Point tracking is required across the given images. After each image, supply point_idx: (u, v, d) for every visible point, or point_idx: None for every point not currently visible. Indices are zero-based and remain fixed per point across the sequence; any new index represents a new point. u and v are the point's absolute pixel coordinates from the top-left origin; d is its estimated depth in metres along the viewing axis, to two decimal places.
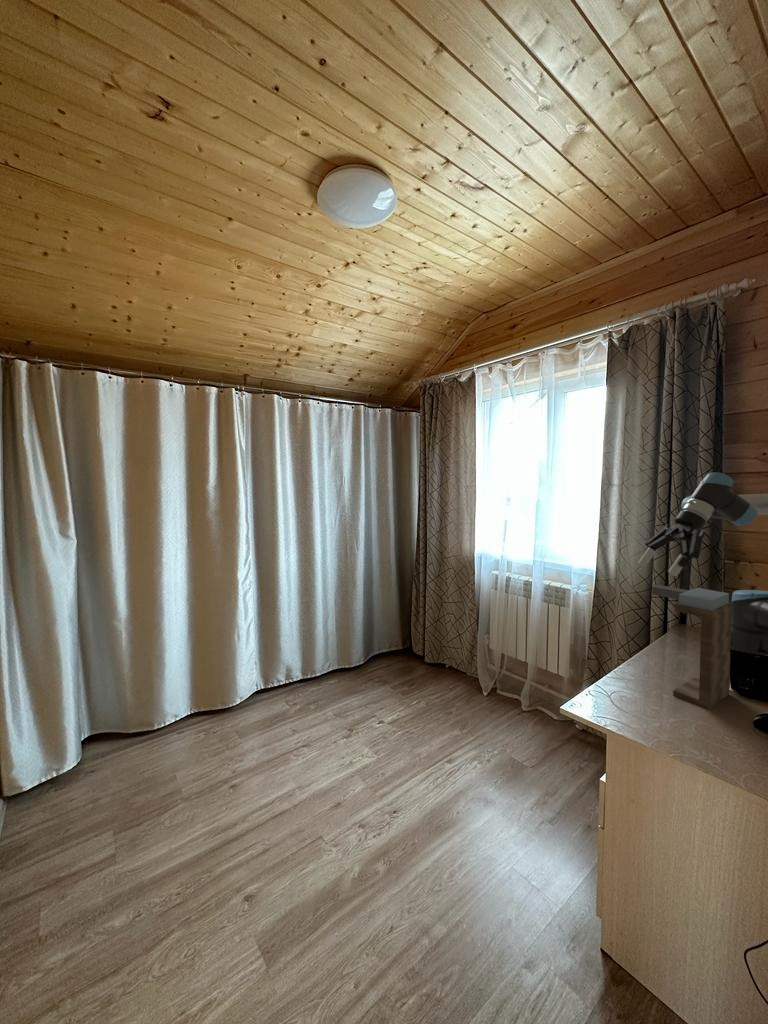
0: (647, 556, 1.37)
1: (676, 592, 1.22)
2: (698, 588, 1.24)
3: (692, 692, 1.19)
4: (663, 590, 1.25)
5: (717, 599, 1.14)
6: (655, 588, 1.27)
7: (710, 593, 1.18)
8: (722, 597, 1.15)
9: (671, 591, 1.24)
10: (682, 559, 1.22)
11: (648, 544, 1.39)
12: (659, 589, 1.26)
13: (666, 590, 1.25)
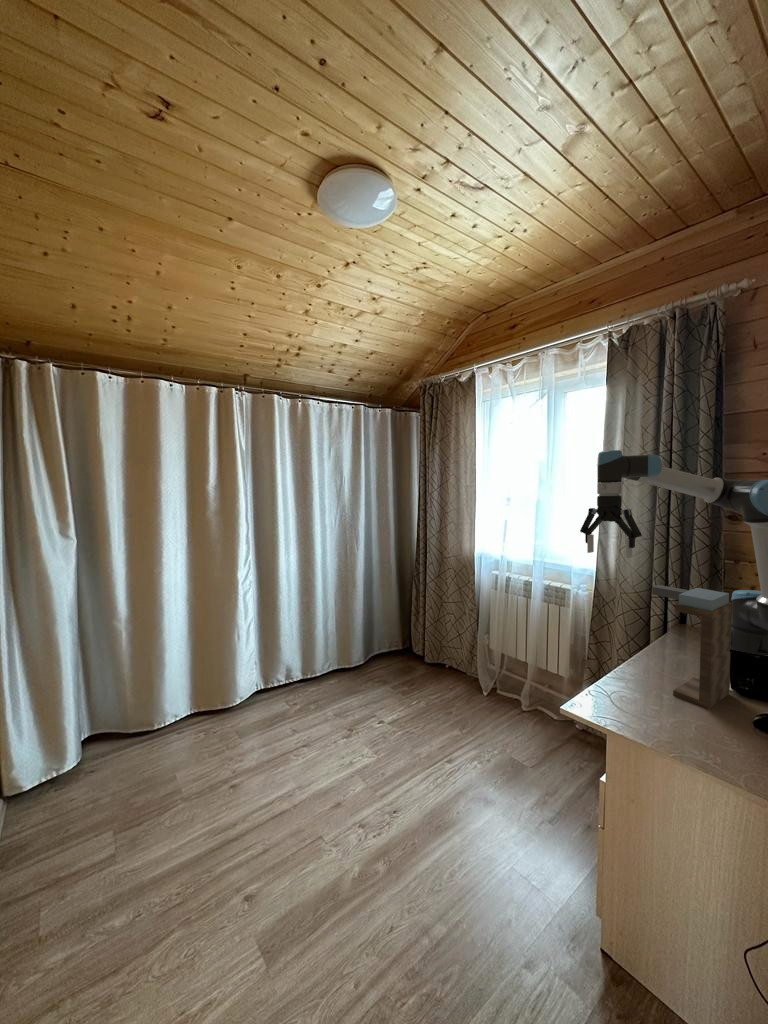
0: (591, 543, 1.47)
1: (676, 592, 1.22)
2: (698, 588, 1.24)
3: (692, 692, 1.19)
4: (663, 590, 1.25)
5: (717, 599, 1.14)
6: (655, 588, 1.27)
7: (710, 593, 1.18)
8: (722, 597, 1.15)
9: (671, 591, 1.24)
10: (630, 542, 1.34)
11: (583, 531, 1.48)
12: (659, 589, 1.26)
13: (666, 590, 1.25)
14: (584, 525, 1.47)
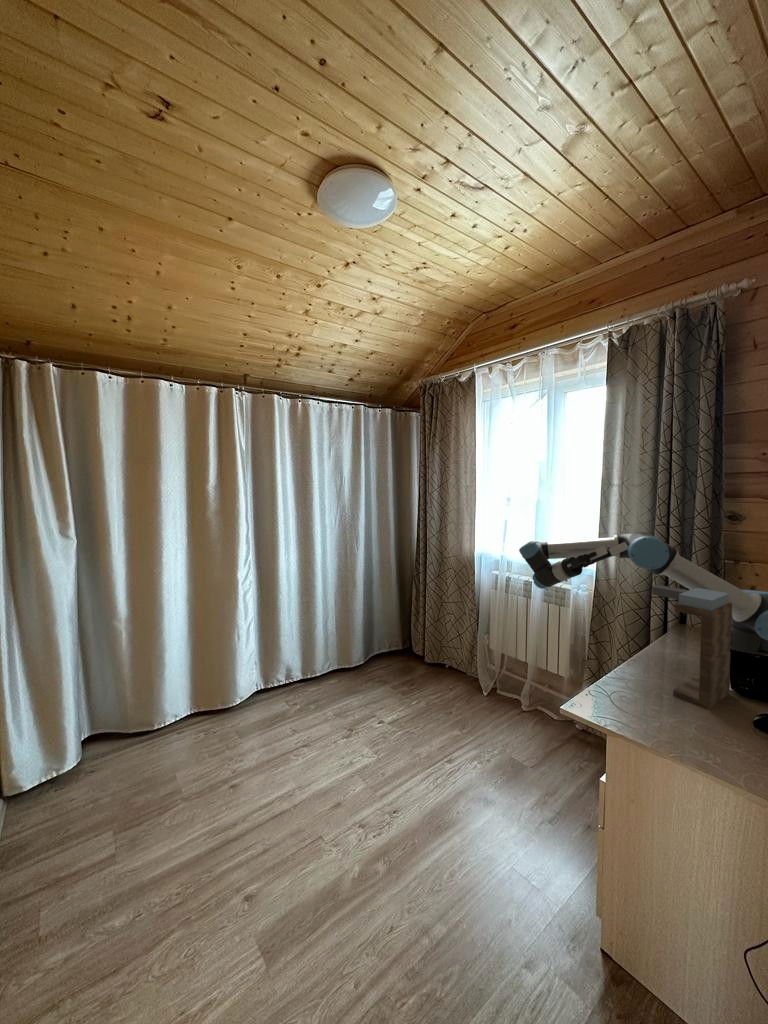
0: (617, 550, 1.45)
1: (676, 592, 1.22)
2: (698, 588, 1.24)
3: (692, 692, 1.19)
4: (663, 590, 1.25)
5: (717, 599, 1.14)
6: (655, 588, 1.27)
7: (710, 593, 1.18)
8: (722, 597, 1.15)
9: (671, 591, 1.24)
10: (591, 557, 1.39)
11: None
12: (659, 589, 1.26)
13: (666, 590, 1.25)
14: None
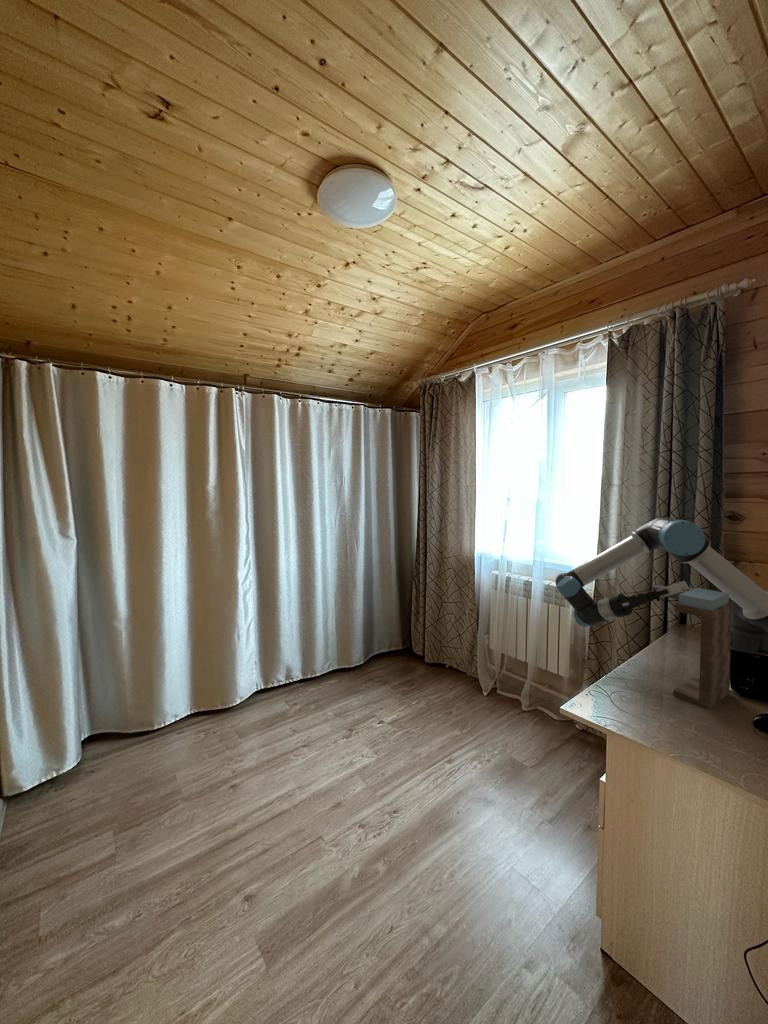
0: None
1: None
2: (698, 588, 1.24)
3: (692, 692, 1.19)
4: None
5: (717, 599, 1.14)
6: (655, 588, 1.27)
7: (710, 593, 1.18)
8: (722, 597, 1.15)
9: None
10: (662, 595, 1.25)
11: None
12: None
13: None
14: None
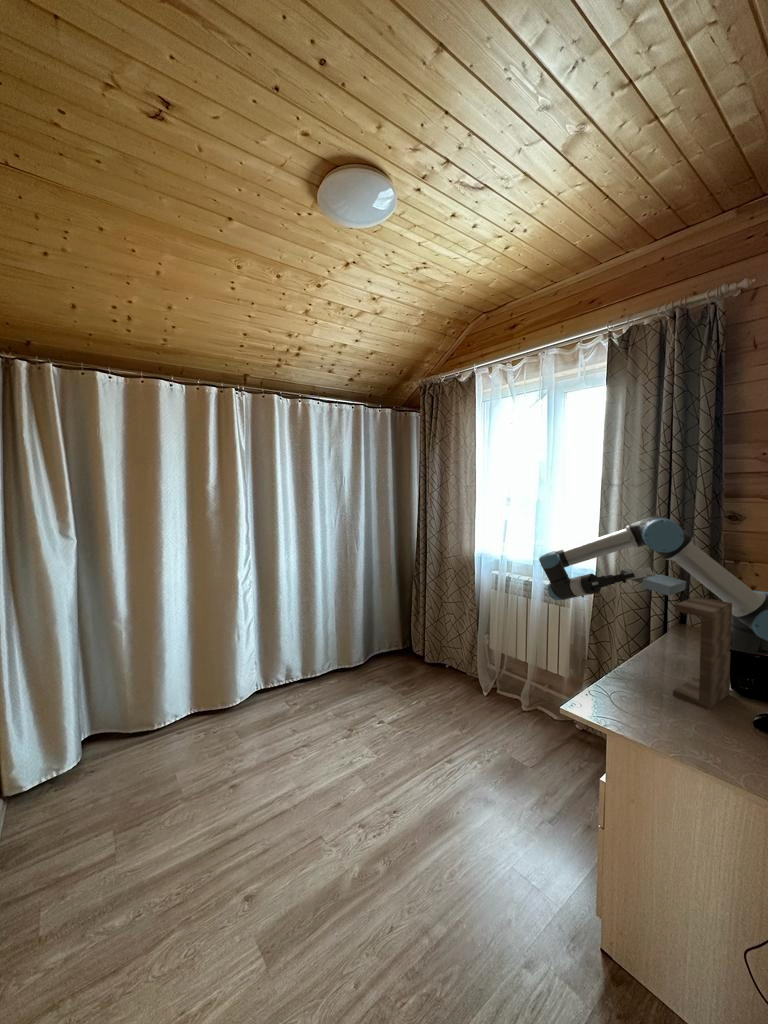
0: None
1: None
2: None
3: (692, 692, 1.19)
4: None
5: (675, 586, 1.27)
6: (623, 571, 1.41)
7: (670, 580, 1.32)
8: (680, 584, 1.29)
9: None
10: (628, 578, 1.38)
11: None
12: None
13: None
14: None
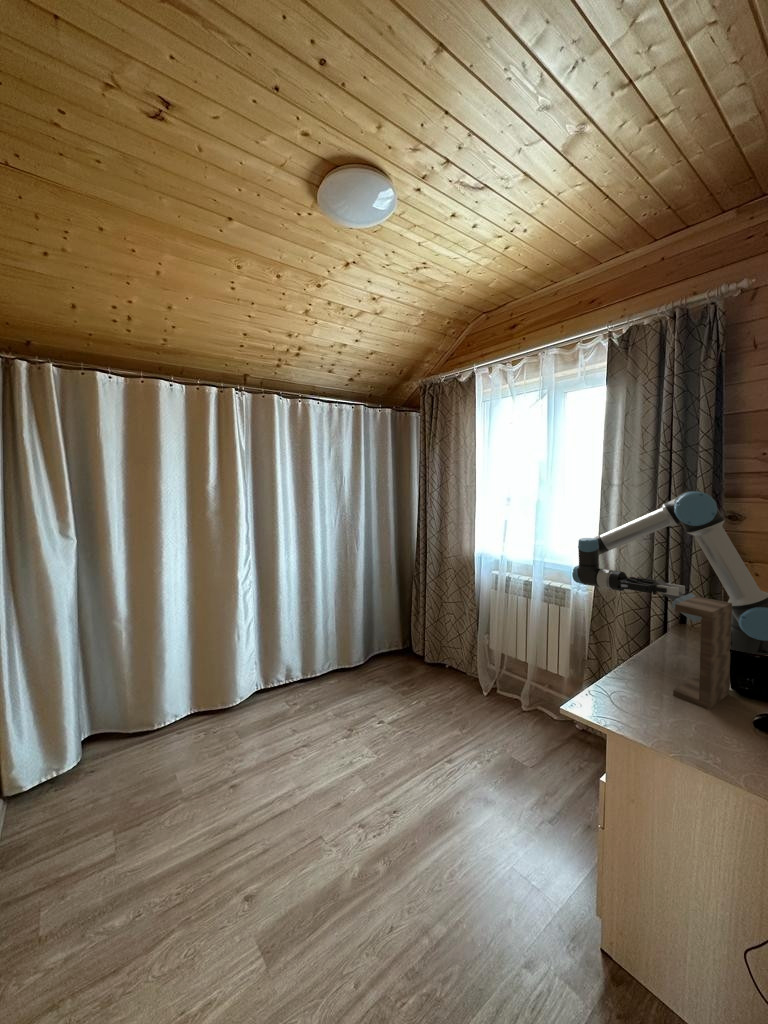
0: None
1: None
2: (692, 594, 1.40)
3: (692, 692, 1.19)
4: None
5: None
6: (656, 583, 1.43)
7: None
8: None
9: None
10: None
11: None
12: None
13: None
14: None
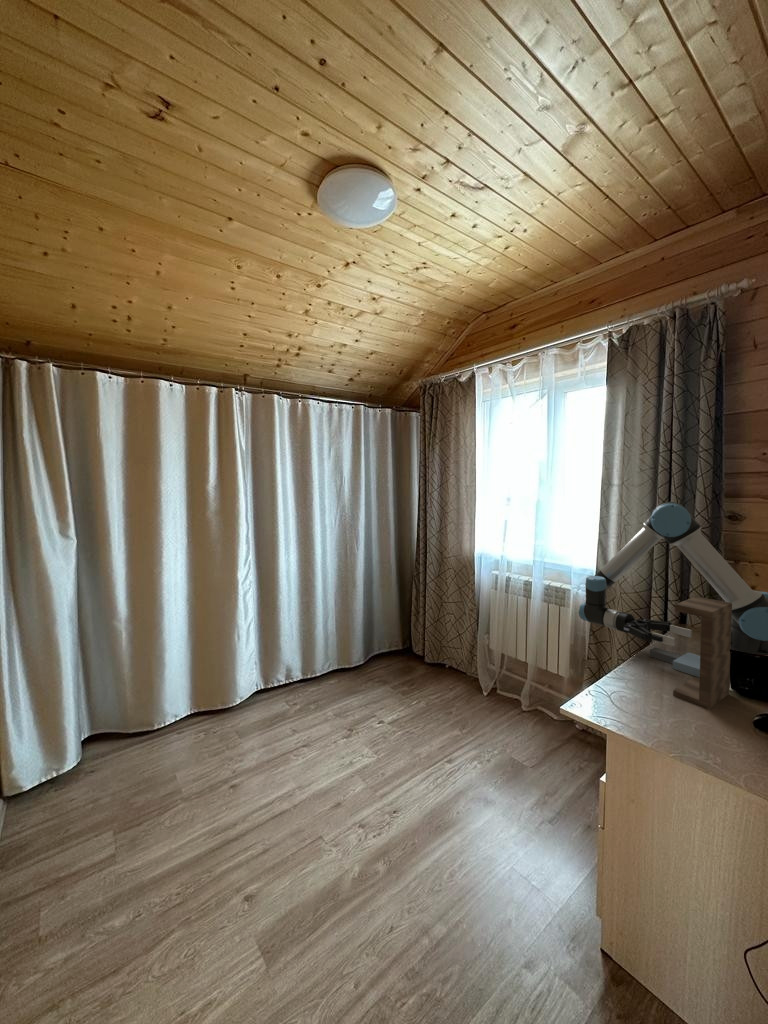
0: (679, 631, 1.45)
1: (670, 657, 1.41)
2: (689, 653, 1.42)
3: (692, 692, 1.19)
4: (659, 654, 1.44)
5: None
6: (652, 651, 1.46)
7: (699, 660, 1.37)
8: None
9: (666, 656, 1.42)
10: None
11: None
12: (655, 653, 1.45)
13: (662, 654, 1.43)
14: None
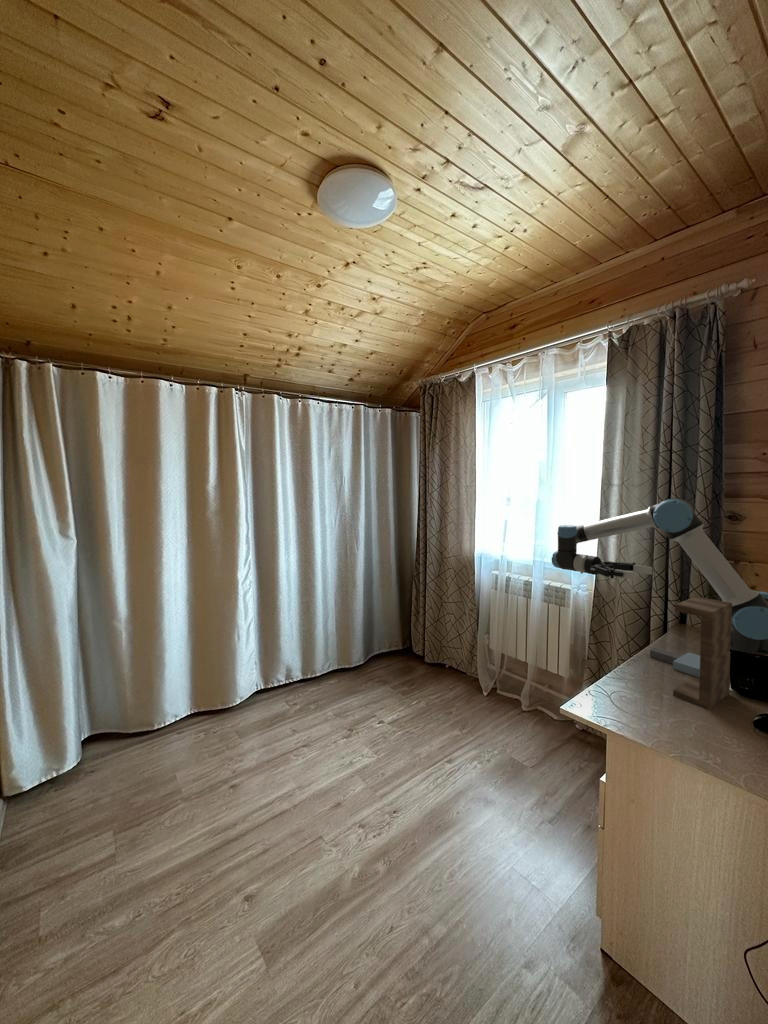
0: (641, 570, 1.55)
1: (670, 657, 1.41)
2: (690, 653, 1.42)
3: (692, 692, 1.19)
4: (659, 654, 1.44)
5: None
6: (652, 651, 1.46)
7: None
8: None
9: (666, 656, 1.42)
10: None
11: None
12: (656, 653, 1.45)
13: (662, 654, 1.43)
14: None
